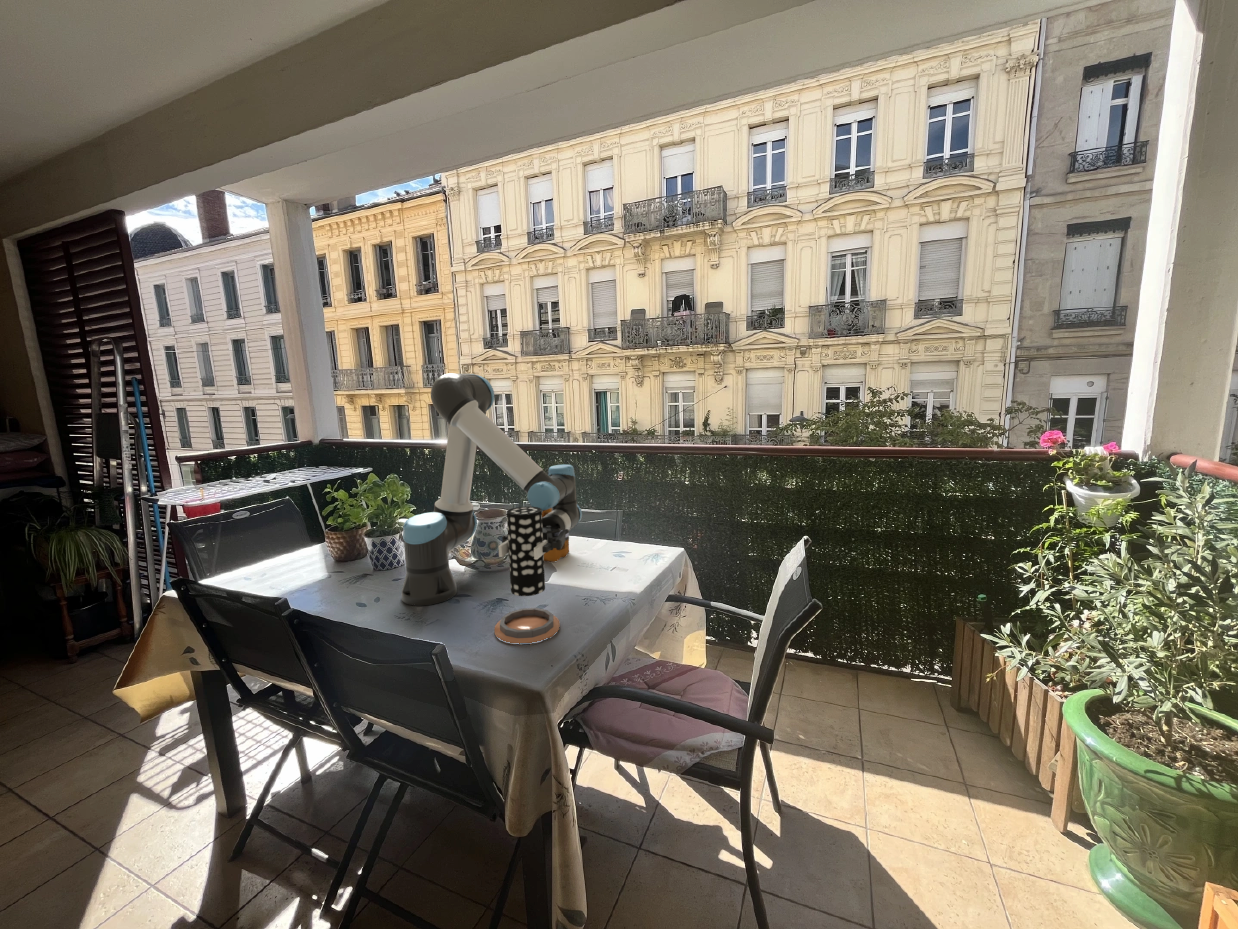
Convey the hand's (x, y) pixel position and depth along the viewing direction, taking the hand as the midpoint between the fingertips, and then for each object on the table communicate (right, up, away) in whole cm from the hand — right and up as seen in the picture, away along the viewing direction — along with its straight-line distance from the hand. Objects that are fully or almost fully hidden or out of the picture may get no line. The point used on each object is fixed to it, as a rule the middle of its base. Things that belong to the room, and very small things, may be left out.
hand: (517, 552), depth 119 cm
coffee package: (0, -12, +62) cm, 64 cm away
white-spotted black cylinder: (+1, -10, +6) cm, 12 cm away
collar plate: (+1, -20, +8) cm, 22 cm away
